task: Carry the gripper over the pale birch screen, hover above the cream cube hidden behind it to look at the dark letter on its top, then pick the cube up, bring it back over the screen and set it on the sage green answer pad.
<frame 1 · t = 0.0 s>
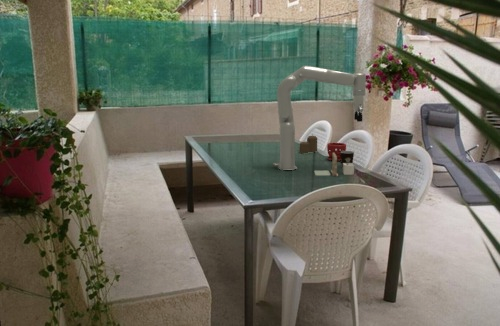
hand: (358, 120, 269), 31 cm above the table, tool pointing down, fingers open, 9 cm apart
letter cube: (348, 173, 263), on the table
plant pot: (336, 160, 302), on the table
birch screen: (334, 173, 264), on the table
answer pad: (322, 173, 264), on the table
brown stepped block: (308, 152, 333), on the table
coffee mug: (344, 167, 281), on the table
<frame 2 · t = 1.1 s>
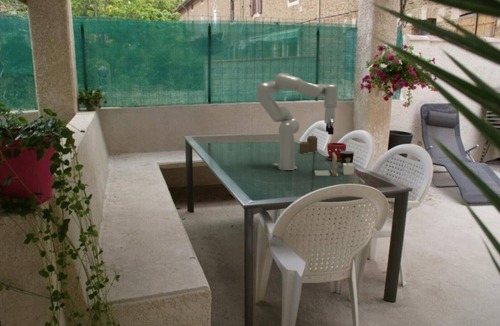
hand: (329, 133, 261), 25 cm above the table, tool pointing down, fingers open, 9 cm apart
nothing on the table moved.
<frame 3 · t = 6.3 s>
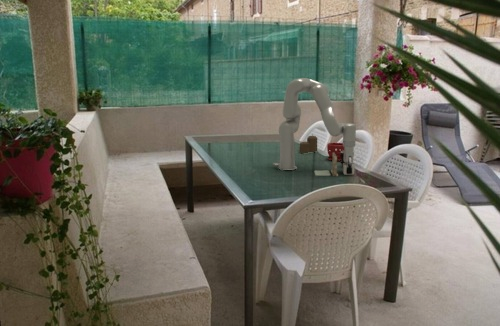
hand: (348, 172, 263), 1 cm above the table, tool pointing down, fingers closed on letter cube, 6 cm apart
letter cube: (348, 173, 263), on the table, touching gripper
everything else where it was.
when the fingers open (3 cm above the table, at t = 13.4 s): letter cube drops 2 cm, resting on answer pad.
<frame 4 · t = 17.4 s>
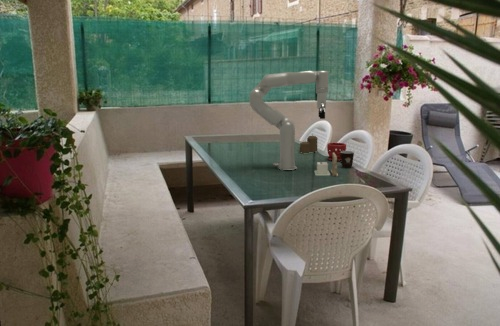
hand: (321, 117, 270), 33 cm above the table, tool pointing down, fingers open, 9 cm apart
letter cube: (322, 172, 264), point 1 cm above the table, touching answer pad
everything else where it was.
at the end: letter cube inside the target area on the answer pad (0.1 cm from its centre), point 0.6 cm above the answer pad's base; letter cube tilted 0°; the gripper is holding nothing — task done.
